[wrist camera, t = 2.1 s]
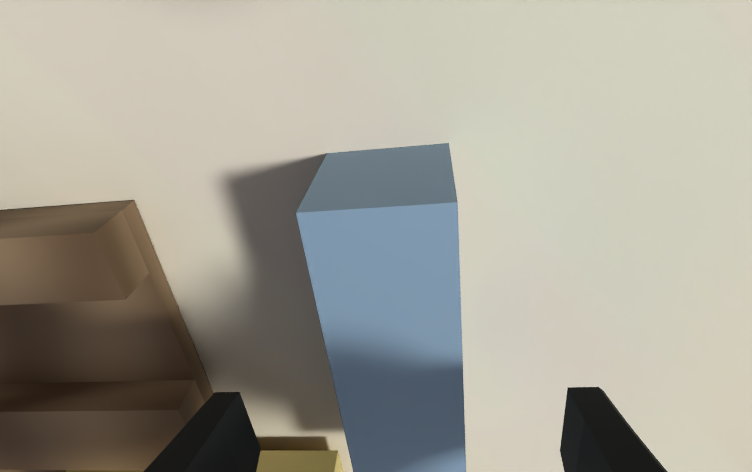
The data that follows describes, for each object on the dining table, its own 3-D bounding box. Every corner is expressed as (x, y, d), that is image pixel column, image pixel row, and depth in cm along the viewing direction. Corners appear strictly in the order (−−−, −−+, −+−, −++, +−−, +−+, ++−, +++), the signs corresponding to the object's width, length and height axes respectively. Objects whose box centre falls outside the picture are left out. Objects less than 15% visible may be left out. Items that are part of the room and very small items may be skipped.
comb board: (134, 200, 13) (47, 270, 10) (265, 520, 20) (238, 614, 17) (-227, 227, 14) (-397, 294, 11) (19, 515, 22) (-44, 600, 19)
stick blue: (459, 417, 16) (467, 519, 13) (374, 416, 17) (363, 516, 14) (448, 140, 11) (457, 202, 8) (328, 150, 12) (295, 212, 9)
